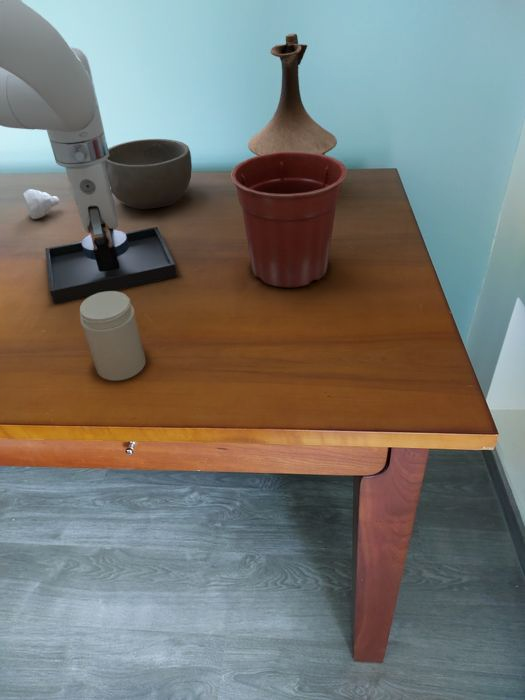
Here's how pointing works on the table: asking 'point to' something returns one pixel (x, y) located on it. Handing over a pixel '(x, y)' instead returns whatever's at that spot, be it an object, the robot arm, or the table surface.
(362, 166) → the table surface
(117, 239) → the jar lid
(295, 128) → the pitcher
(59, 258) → the tray
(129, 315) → the jar
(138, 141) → the bowl
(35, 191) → the garlic bulb
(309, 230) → the flower pot
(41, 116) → the robot arm
